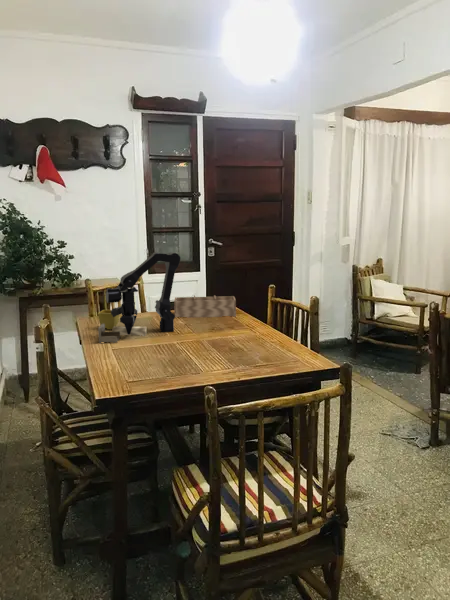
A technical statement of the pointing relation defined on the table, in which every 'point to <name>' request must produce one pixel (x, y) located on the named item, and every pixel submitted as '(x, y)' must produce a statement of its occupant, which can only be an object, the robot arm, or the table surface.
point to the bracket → (107, 335)
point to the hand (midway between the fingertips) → (129, 332)
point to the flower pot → (108, 319)
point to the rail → (134, 330)
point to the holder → (205, 306)
